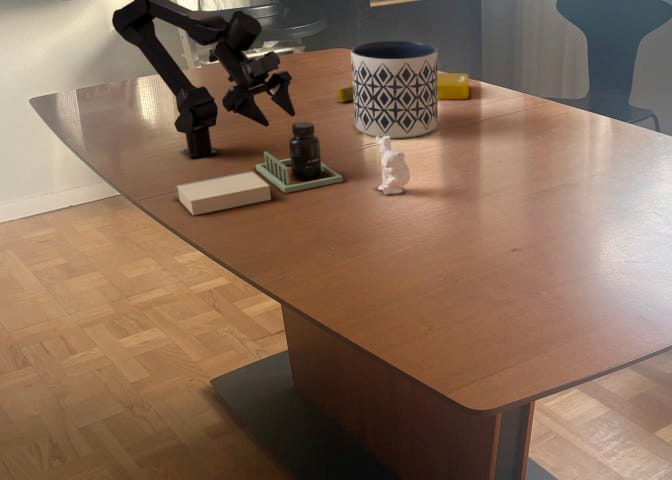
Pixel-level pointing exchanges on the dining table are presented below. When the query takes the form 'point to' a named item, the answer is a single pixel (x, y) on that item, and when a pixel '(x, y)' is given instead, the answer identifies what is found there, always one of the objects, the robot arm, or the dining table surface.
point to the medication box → (345, 93)
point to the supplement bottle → (305, 152)
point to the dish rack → (277, 164)
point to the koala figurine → (392, 168)
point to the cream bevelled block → (223, 192)
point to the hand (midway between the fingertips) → (281, 120)
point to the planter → (395, 88)
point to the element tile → (453, 86)
